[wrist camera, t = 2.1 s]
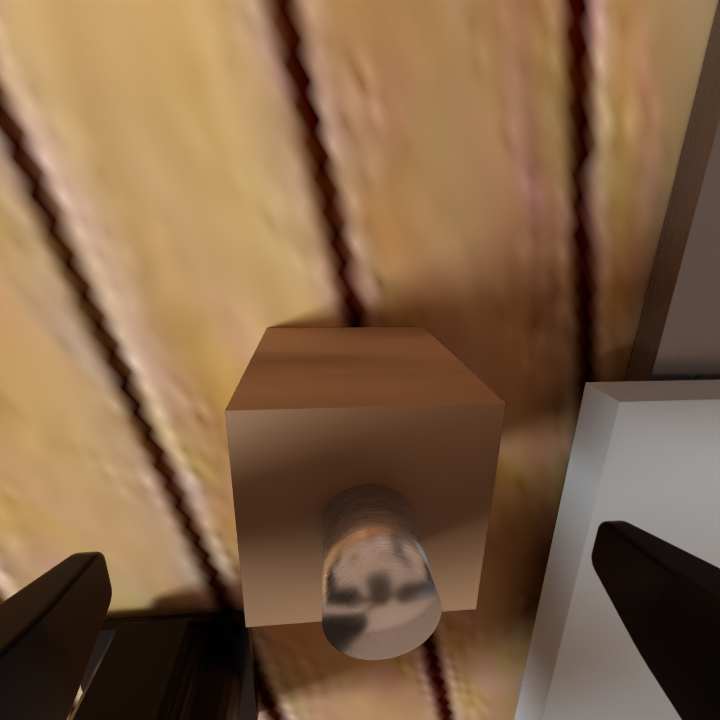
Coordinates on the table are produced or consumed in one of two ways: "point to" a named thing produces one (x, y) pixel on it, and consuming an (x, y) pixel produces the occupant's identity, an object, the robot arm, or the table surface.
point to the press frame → (688, 252)
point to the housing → (361, 483)
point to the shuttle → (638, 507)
